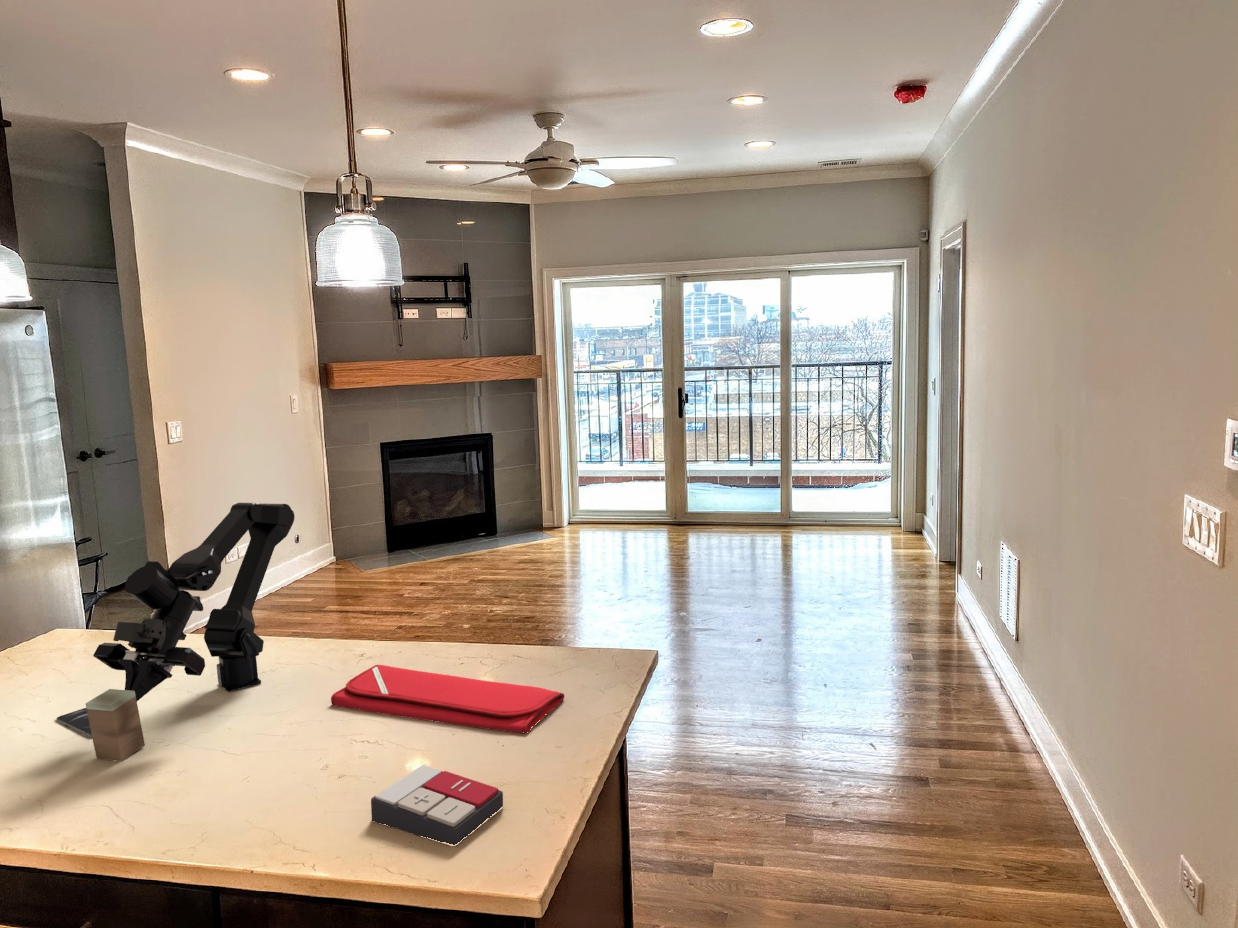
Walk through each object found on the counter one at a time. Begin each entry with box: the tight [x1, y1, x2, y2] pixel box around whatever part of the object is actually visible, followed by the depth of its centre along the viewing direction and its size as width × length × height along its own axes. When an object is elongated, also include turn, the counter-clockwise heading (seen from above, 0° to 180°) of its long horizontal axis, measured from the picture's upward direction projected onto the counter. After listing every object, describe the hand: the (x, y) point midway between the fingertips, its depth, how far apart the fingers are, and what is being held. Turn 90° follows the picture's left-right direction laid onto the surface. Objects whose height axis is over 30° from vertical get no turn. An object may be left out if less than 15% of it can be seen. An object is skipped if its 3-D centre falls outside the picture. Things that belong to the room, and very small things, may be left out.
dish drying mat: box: [330, 664, 565, 734], centre depth 161 cm, size 16×41×4 cm, turn 69°
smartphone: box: [56, 707, 93, 739], centre depth 158 cm, size 8×1×15 cm
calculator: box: [370, 764, 504, 845], centre depth 122 cm, size 11×4×15 cm
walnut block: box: [85, 688, 146, 762], centre depth 144 cm, size 5×5×10 cm
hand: (126, 706), depth 146 cm, fingers closed
